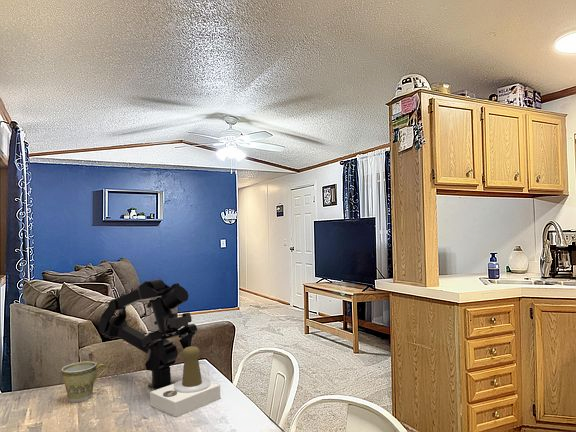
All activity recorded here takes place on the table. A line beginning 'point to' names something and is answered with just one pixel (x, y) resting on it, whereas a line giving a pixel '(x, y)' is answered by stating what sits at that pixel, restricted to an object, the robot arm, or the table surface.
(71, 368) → the ceramic cup
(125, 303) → the robot arm
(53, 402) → the table surface
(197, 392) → the kitchen scale
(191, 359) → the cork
